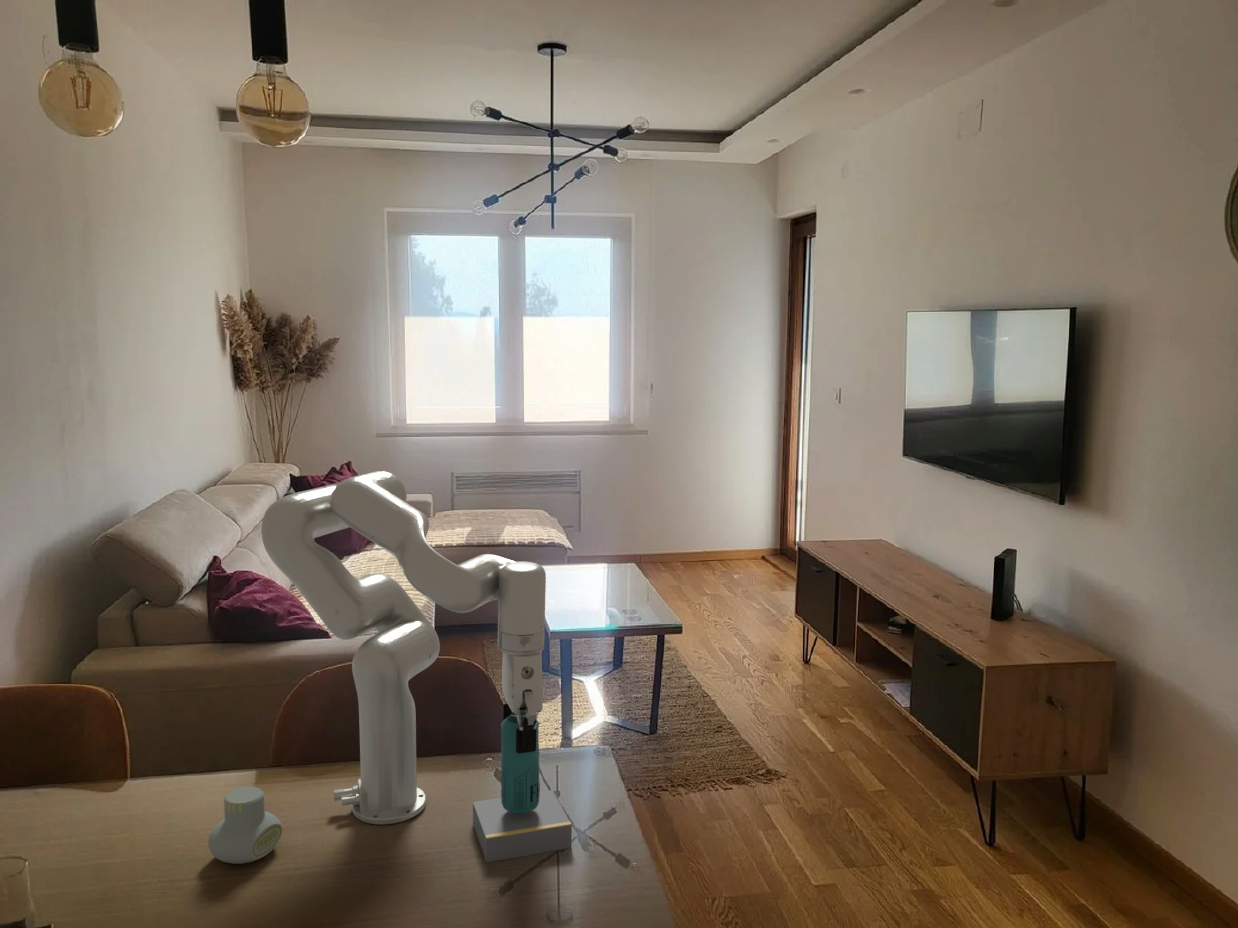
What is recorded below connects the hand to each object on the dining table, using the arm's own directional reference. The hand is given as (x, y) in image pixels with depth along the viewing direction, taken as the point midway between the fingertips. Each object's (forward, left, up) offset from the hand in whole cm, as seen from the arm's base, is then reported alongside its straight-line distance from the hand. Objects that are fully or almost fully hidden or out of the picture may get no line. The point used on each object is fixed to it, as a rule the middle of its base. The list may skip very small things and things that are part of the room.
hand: (519, 738), depth 151 cm
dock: (0, 0, -17) cm, 17 cm away
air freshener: (-43, +8, -17) cm, 47 cm away
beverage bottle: (0, 0, -13) cm, 13 cm away
